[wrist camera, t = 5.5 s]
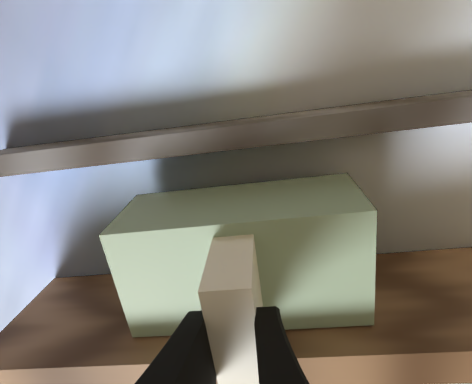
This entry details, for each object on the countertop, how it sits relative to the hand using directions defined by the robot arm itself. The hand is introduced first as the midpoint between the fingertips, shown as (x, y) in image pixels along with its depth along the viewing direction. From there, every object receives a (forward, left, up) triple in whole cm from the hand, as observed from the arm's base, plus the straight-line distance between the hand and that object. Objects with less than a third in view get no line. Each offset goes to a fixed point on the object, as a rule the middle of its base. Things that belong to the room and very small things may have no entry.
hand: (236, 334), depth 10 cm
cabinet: (0, 0, -6) cm, 7 cm away
